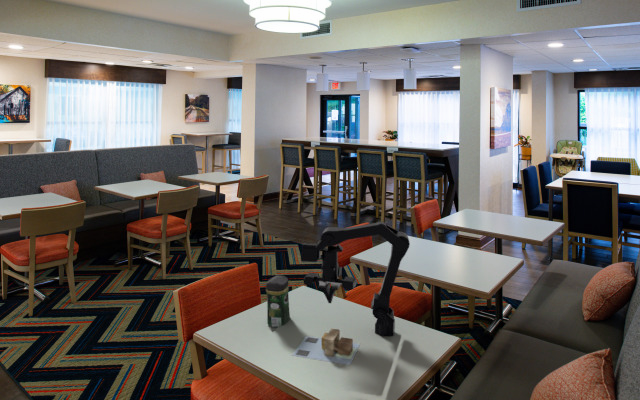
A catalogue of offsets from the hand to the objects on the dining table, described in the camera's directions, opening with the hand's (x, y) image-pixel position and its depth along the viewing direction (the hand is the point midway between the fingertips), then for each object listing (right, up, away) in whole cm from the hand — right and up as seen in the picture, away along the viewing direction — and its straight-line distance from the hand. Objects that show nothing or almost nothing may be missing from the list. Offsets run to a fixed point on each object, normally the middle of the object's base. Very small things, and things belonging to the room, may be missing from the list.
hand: (330, 302), depth 167 cm
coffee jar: (-20, -11, +11) cm, 25 cm away
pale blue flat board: (-1, -14, -12) cm, 19 cm away
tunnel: (0, -13, -13) cm, 18 cm away
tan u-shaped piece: (+2, -13, -13) cm, 19 cm away
